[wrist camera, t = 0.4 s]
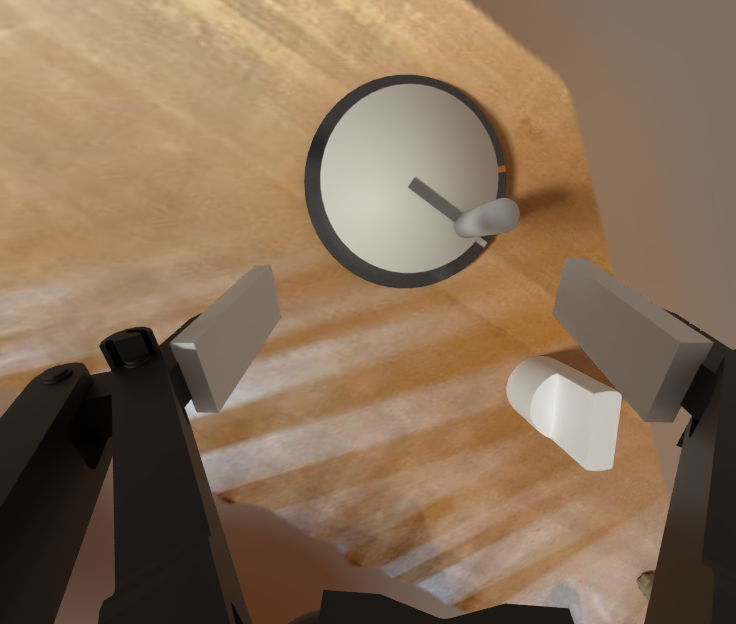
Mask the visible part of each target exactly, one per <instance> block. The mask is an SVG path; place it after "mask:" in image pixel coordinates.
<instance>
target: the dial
mask: <svg viewBox="0 0 736 624" xmlns="http://www.w3.org/2000/svg"><path fill="white" fill-rule="evenodd" d="M320 183H321V194H322V200H323V204H324V207H325V211H326V214H327V216H328V218H329V221H330V223H331V225H332V227H333V229H334V230H335V232H336V234H337V235H338V237H339V238H340V239H341V241H342V242H343V243H344V244H345V245H346V246H347V247H348V248H349V249H350V250H351V251H352V252H353V253H354V254H355V255H357V256H358V257H359V258H361V259H362V260H364V261H366V262H367V263H369V264H372V265H374V266H376V267H378V268H381V269H385V270H388V271H393V272H400V273H417V272H425V271H429V270H433V269H436V268H439V267H441V266H443V265H446V264H448V263H449V262H451V261H453V260H455V259H456V258H458V257H459V256H460V255H462V254H463V253H464V252H465V251H466V250H467V249H468V248H470V247H471V246H472V245H473V244H474V242H475V241H476V240H477V239H478V237H480V236H487V235H494V234H501V233H506V232H509V231H511V230H512V229H514V228H515V227H516V225H517V224H518V221H519V218H520V211H519V208H518V206H517V204H516V203H515V202H514V201H513V200H511V199H509V198H500V199H497V200H496V196H497V191H498V165H497V159H496V154H495V151H494V147H493V144H492V141H491V139H490V137H489V135H488V132H487V131H486V129H485V127H484V126H483V124H482V122H481V121H480V120H479V118H478V117H477V116H476V115H475V114H474V112H473V111H472V110H471V109H470V108H469V107H467V106H466V105H465V104H464V103H463V102H462V101H460V100H459V99H457V98H456V97H455V96H453V95H451V94H449V93H447V92H445V91H443V90H440V89H437V88H434V87H431V86H426V85H421V84H401V85H394V86H390V87H386V88H382V89H380V90H378V91H375V92H373V93H371V94H369V95H367V96H366V97H364V98H362V99H361V100H360V101H358V102H357V103H356V104H355V105H353V106H352V107H351V108H350V109H349V110H348V111H347V112H346V113H345V114H344V115H343V117H342V118H341V119H340V121H339V122H338V123H337V125H336V126H335V128H334V130H333V132H332V133H331V135H330V137H329V140H328V142H327V145H326V147H325V151H324V155H323V159H322V164H321V173H320Z"/></svg>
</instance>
